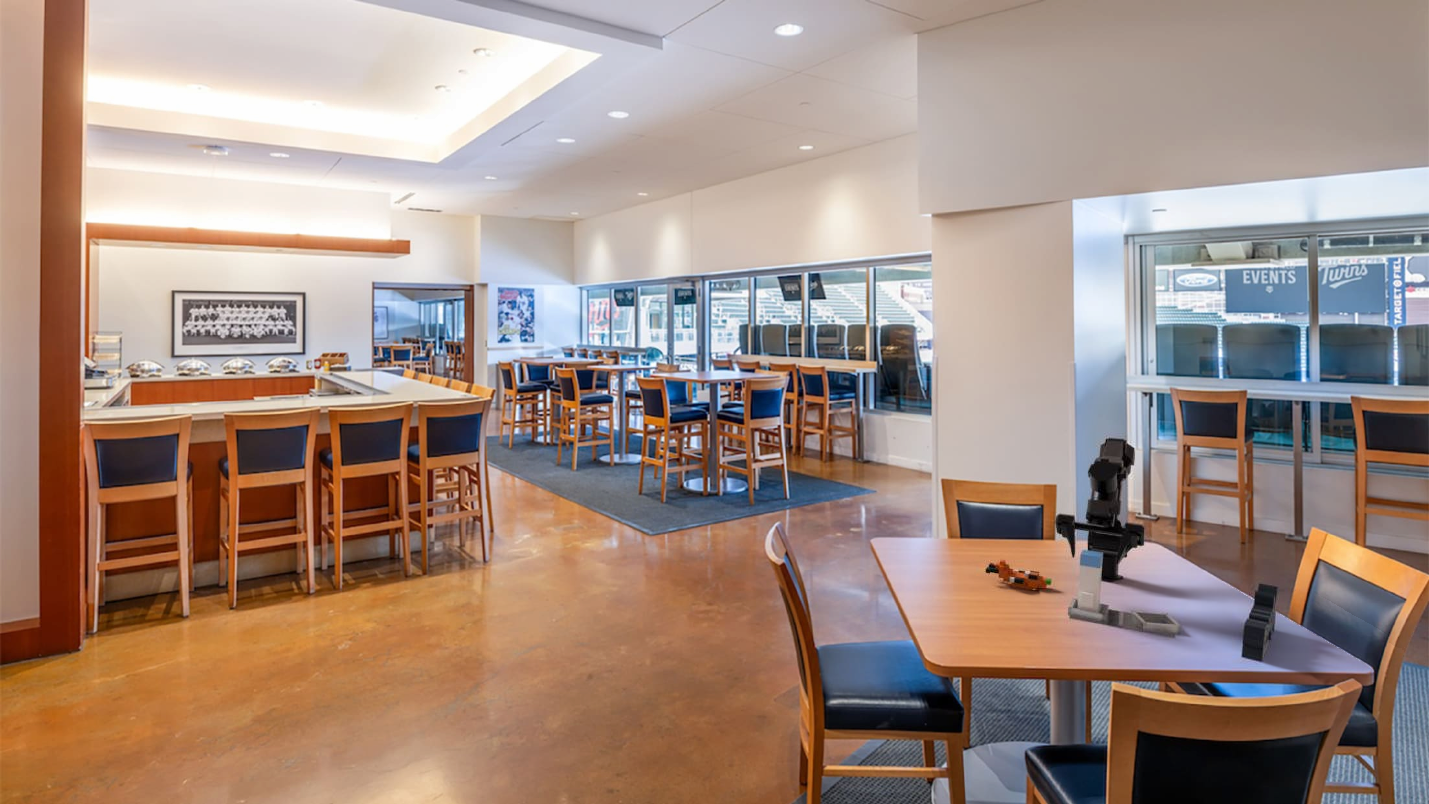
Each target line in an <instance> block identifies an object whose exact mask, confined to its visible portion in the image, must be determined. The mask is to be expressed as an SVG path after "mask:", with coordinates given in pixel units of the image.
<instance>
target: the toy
mask: <svg viewBox="0 0 1429 804" xmlns="http://www.w3.org/2000/svg"><path fill="white" fill-rule="evenodd" d="M985 574H997V575H998V578H999V579H1002V582H1006V583H1011V585H1010V586H1011V587H1014V586H1015V587H1014V588H1020V589H1025V588H1026V590H1031V589H1035V590H1034V591H1038V588H1040V589H1041V588H1042V589H1046V588H1047V587H1048V586H1051V584H1052V578H1048V577H1044V576H1042V575H1040V571H1034V570H1019V569H1014V568H1011V567H1010V564H1009V563H1006V559H1001V558H1000V561H999V562H996V563H992V562H990V563H989V564H988V566H987V567H986V568H985Z"/></svg>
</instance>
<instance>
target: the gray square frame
mask: <svg viewBox="0 0 1429 804" xmlns="http://www.w3.org/2000/svg"><path fill="white" fill-rule="evenodd" d="M1130 613H1131V618H1132V620H1133V621H1134V622H1135V623H1136V624H1137V625H1138V626H1139V627H1140V628H1141V629H1142V630H1143V631H1155V632H1166V633H1174V634H1175V635H1177V634H1178V635H1181V634H1182V625H1181V624H1179V623H1178V622H1177V621H1176V620H1175V618H1173V617H1172V616H1171V615H1170V614H1168V613H1164V612H1153V611H1152V612H1151V611H1140V610H1139V611H1138V610H1130ZM1144 620H1153V621H1165V622H1166V623H1167V624H1160V623H1148V622H1145V621H1144Z"/></svg>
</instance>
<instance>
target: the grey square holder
mask: <svg viewBox="0 0 1429 804" xmlns="http://www.w3.org/2000/svg"><path fill="white" fill-rule="evenodd" d="M1075 607H1078V598H1072V600H1071V601H1070V603H1069V606H1068V609H1067V616H1070V615H1071V616H1076V617H1081V618H1086V619H1091V620H1096V621H1101V622H1105V620H1106V617H1107V615H1108V611H1109V609H1110V606H1109V604H1104V603H1100V606H1099V611H1101V612H1102V613H1097V612H1091V611H1086V610H1081V609H1076V608H1075Z"/></svg>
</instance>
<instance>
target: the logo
mask: <svg viewBox="0 0 1429 804" xmlns="http://www.w3.org/2000/svg"><path fill="white" fill-rule="evenodd" d="M1278 590H1279V586H1276V585H1270V584H1265V583H1260V582H1259V583H1258V587H1257V590H1254V600H1253V606H1252V608H1251V609H1250V611H1249V613H1248V617H1247V618H1246V620H1245V622H1244V625H1243V633H1242V634H1243V635H1242V646H1241V648H1242V649H1241V658H1245V659H1249V660H1253V661H1257V662H1261V663H1262V662H1263V660H1264V658H1265V655H1266V653H1267V650H1268V647H1269V642H1270V641H1272V634H1273V632H1274V631H1275V625H1276V614H1277V602H1278V592H1279V591H1278Z"/></svg>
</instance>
